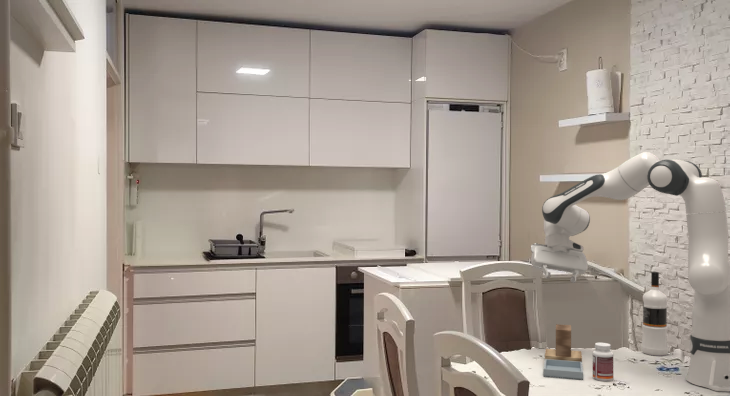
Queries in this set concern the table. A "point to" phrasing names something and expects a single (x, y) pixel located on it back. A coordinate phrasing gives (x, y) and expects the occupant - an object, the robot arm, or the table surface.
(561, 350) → the walnut block
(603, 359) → the pill bottle
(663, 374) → the table surface
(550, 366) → the tray
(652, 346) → the vodka
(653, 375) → the table surface
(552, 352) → the oak board
